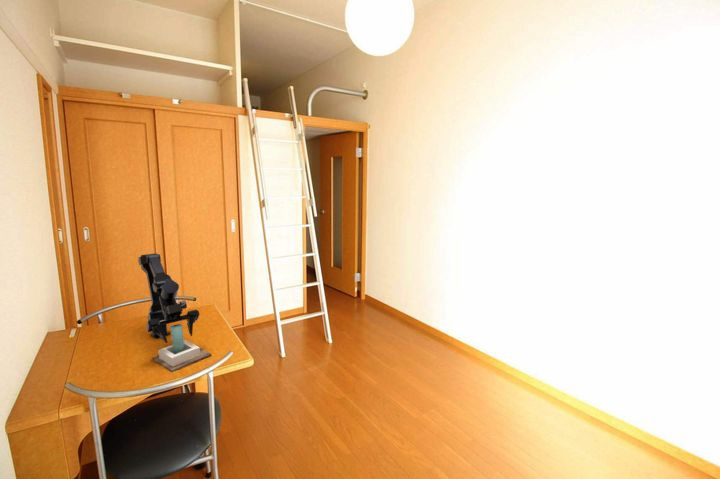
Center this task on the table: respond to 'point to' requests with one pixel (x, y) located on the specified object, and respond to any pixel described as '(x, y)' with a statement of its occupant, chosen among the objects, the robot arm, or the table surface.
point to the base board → (202, 356)
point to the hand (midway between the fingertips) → (179, 339)
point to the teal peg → (177, 338)
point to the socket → (179, 354)
